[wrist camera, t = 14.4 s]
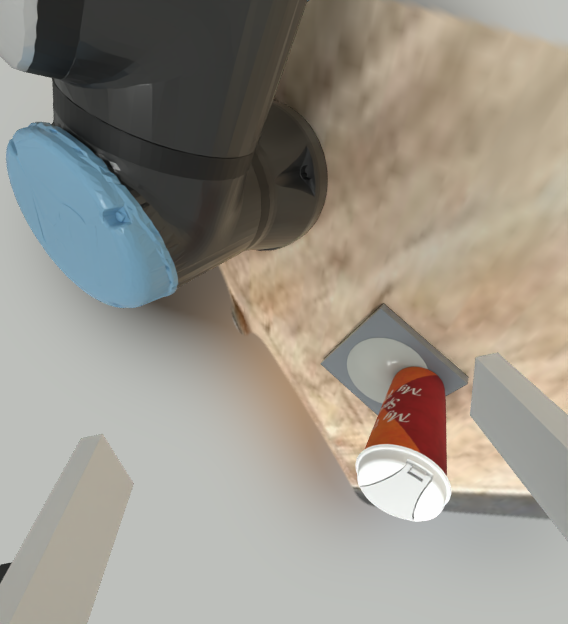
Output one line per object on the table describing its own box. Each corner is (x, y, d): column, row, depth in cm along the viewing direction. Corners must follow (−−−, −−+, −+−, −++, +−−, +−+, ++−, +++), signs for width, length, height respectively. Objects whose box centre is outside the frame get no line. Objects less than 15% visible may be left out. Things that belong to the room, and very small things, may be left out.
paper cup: (403, 346, 37) (376, 441, 26) (471, 382, 36) (472, 499, 25) (372, 390, 42) (337, 487, 31) (430, 424, 40) (416, 539, 29)
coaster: (324, 358, 46) (320, 364, 45) (383, 303, 38) (380, 308, 37) (393, 420, 45) (390, 427, 44) (468, 377, 37) (467, 384, 36)
